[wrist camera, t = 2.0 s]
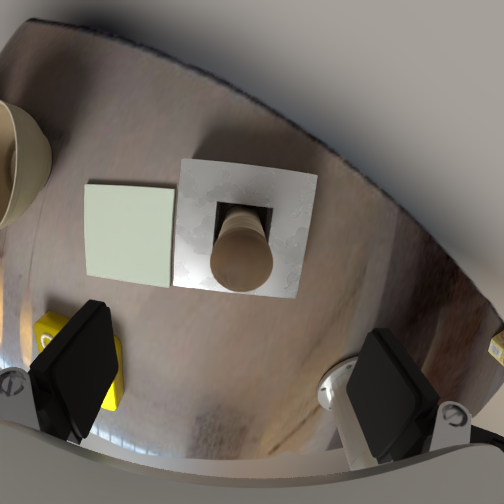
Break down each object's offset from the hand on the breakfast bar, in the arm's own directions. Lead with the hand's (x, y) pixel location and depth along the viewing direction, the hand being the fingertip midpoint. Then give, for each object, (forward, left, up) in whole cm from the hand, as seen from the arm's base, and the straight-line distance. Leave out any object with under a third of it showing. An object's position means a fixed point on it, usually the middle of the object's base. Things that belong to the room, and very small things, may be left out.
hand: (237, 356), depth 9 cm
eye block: (0, 0, -24) cm, 24 cm away
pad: (+14, +3, -24) cm, 28 cm away
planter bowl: (+31, -6, -24) cm, 40 cm away
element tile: (+24, +25, -24) cm, 42 cm away
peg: (0, 0, -24) cm, 24 cm away
